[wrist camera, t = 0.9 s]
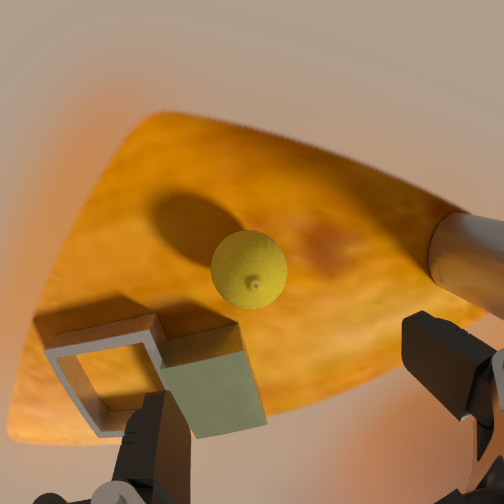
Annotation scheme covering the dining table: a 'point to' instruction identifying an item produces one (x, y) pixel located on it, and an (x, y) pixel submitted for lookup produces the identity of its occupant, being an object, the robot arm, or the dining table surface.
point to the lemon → (249, 269)
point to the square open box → (168, 375)
